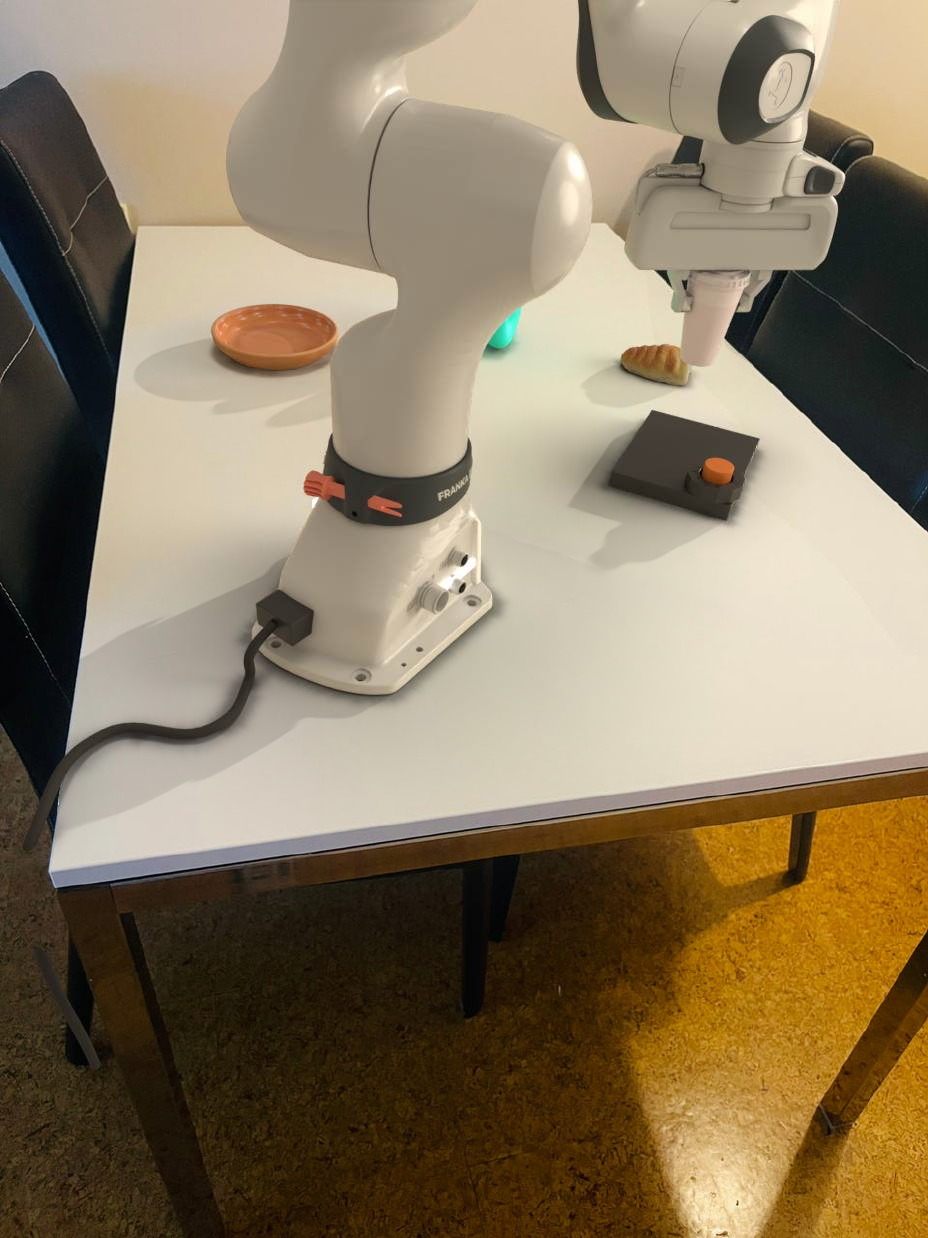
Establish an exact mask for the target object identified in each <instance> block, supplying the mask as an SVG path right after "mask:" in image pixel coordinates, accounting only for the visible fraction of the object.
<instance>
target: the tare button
mask: <svg viewBox="0 0 928 1238" xmlns="http://www.w3.org/2000/svg"><path fill="white" fill-rule="evenodd" d="M733 471H734V466H733V464H732V463H731V462H729V461H727V460H725V459H721V458H710V459H708V460H706V461H705V464H704V468H703V472H702V478H703V479H705V480H706V481H708V482H710V483H714V484H724V485H726V484H729V483H730V480H731V477H732V474H733Z"/></svg>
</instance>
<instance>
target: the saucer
mask: <svg viewBox="0 0 928 1238" xmlns="http://www.w3.org/2000/svg"><path fill="white" fill-rule="evenodd" d="M210 333H211V337H212V340H213V343H214V345H215V346H216V347H217V348H218V349H219V350H220V351H222V352H223V353H224V354H225V355H226V356H228V357H230V358H231V359H232V360H234V361H235V362H237V363H238V364H241V365H244V366H246V367H248V368H249V367H250V368H253V369H258V370H266V371H287V370H294V369H301V368H304V367H307V366H310V365H312V364H314V363H316V362H317V361H319V360H320V359H322V358H323V356H325V355H326V354H328V353H329V352H330V351H331V349H332V348H334V346H336V344H337V342H338V336H339V329H338V326H337V324H336V322H335V321H334V320H333V319H332V318H331V317H329V316H328V315H326V314H324V313H323V312H320V311H318V310H315V309H313V308H309V307H304V306H301V305H296V304H295V305H294V304H285V303H284V304H283V303H262V304H253V305H245V306H241V307H238V308H235V309H234V308H233V309H232V310H229V311H226V312H224V313H223V314H221V315H219V317H217V318H216V319H215V320H214V321H213V323H212V325H211V328H210Z"/></svg>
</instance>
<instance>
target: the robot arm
mask: <svg viewBox="0 0 928 1238" xmlns="http://www.w3.org/2000/svg"><path fill="white" fill-rule="evenodd" d="M478 1H479V0H289V6H288V18H287V23H286V30H285V34H284V39H283V43H282V45H281V50H280V53H279V56H278V58H277V61H276V62H275V65H274V67H273V69H272V71H271V73H270V74H269V76H268V77H267V79H266V80H265V81H264V82H263V84H262V85H260V87H259V88H257V89H256V91H254V92H253V93H252V94H251V95H250V96H249V97H248V98H247V99H246V101H245V102H244V103H243V105H242V106H241V108H240V109H239V111H238V113H237V114H236V117H235V119H234V121H233V122H232V125H231V128H230V131H229V135H228V139H227V146H226V153H225V168H226V178H227V184H228V188H229V191H230V194H231V198H232V200H233V203H234V205H235V208H236V210H237V211H238V213H239V215H240V217H241V219H242V220H243V222H244V223H245V224H246V226H248V227H249V228H250V229H251V230H252V231H254V232H255V233H257V234H259V235H261V236H263V237H265V238H268V239H269V240H271V241H273V242H275V243H278V245H281V246H283V247H285V248H288V249H290V250H292V251H294V252H297V253H299V254H301V255H303V256H305V257H307V258H311V259H316V260H320V261H325V262H329V263H333V264H337V265H342V266H347V267H352V268H355V269H360V270H365V271H369V272H374V273H377V274H382V275H386V276H388V277H390V278H394V279H395V282H396V285H397V302H396V308H392V309H389V310H385V311H382V312H379V313H377V314H374V315H371V316H369V317H366V318H364V319H362V320H360V321H359V322H356V323H355V324H353V325H352V326H351V327H350V328H348V329H347V330H346V331H345V332H344V334H342V336H341V337H340V339H339V340H337V342H336V344H335V347H334V349H333V352H332V355H331V358H330V362H329V375H330V376H329V377H330V400H331V401H330V402H331V403H330V405H331V429H332V432H331V434H330V435H329V438H328V442H327V448H326V451H325V454H324V457H323V461H322V464H323V470H322V473H321V472H320V471H317V470H310V471H309V472H308V473H307V474H306V475H305V478H304V481H303V492H304V493H303V494H305V495H307V496H308V497H309V496H310V497H313V499H312V500H311V502H312V503H311V504H312V509H311V511H310V513H309V514H308V517H307V518H306V521H305V522H304V524H303V527H302V529H301V531H300V533H299V534H298V537H297V539H296V541H295V543H294V545H293V547H292V549H291V551H290V554H289V555H288V558H287V559H286V561H285V563H284V566H283V568H282V570H281V573H280V577H279V582H278V583H279V584H278V586H277V589H276V590H275V591H273V592H271V593H270V594H268V595H267V596H264V598H262V599H260V600H258V601H257V602H256V603H255V610H256V618H257V620H256V621H255V623H254V625H253V626H252V629H251V641H250V642H249V644H248V646H247V648H246V650H245V652H244V655H243V660H242V661H243V663H242V664H243V669H244V676H243V679H242V681H241V685H240V688H239V691H238V694H237V696H236V698H235V700H234V702H233V704H232V705H231V707H230V708H229V709H228V710H227V712H225V713H224V714H223V715H221V716H220V717H218V718H217V719H216V720H214V721H212V722H210V723H207V724H204V725H202V726H198V727H193V728H179V727H178V728H177V727H170V726H164V725H158V724H153V723H148V722H147V723H146V722H121V723H116V724H111V725H109V726H107V727H105V728H102V729H100V730H98V731H97V732H94V733H92V734H90V735H89V736H88V737H86V738H85V739H83V740H81V741H80V742H79V743H77V744H76V745H74V747H72V748H71V749H70V750H69V751H68V752H67V753H66V754H65V755H64V756H63V757H62V759H61V760H60V761H59V763H58V764H57V765H56V767H55V768H54V769H53V772H52V774H51V775H50V777H49V779H48V782H47V784H46V786H45V789H44V790H43V793H42V795H41V798H40V801H39V803H38V805H37V808H36V810H35V813H34V814H33V818H32V819H31V822H30V826H29V827H28V830H27V833H26V835H25V837H24V841H23V844H22V850H23V851H25V852H28V851H29V852H30V851H32V850H33V849H34V848H35V847H37V845H38V843H39V840H40V837H41V835H42V832H43V830H44V827H45V824H46V822H47V819H48V818H49V817H48V816H49V814H50V812H51V809H52V806H53V805H54V801H55V799H56V797H57V794H58V792H59V789H60V788H61V785H62V783H63V781H64V779H65V778H66V776H67V774H68V772H69V771H70V769H71V768H72V767H73V765H74V764H75V763H76V762H77V761H78V760H79V759H80V758H81V757H82V756H83V755H84V754H85V753H87V752H88V751H89V750H91V749H93V748H94V747H96V746H97V745H99V744H101V743H102V742H105V741H107V740H108V739H111V738H113V737H116V736H120V735H126V734H128V735H129V734H138V735H145V736H152V737H159V738H165V739H169V740H170V739H171V740H180V741H184V740H185V741H188V740H198V739H203V738H206V737H208V736H211V735H213V734H216V733H218V732H219V731H221V730H223V729H225V728H226V727H228V726H229V725H231V724H232V723H233V722H234V721H235V720H236V719H237V718H238V717H239V715H240V714H241V712H242V710H243V709H244V707H245V705H246V703H247V700H248V698H249V696H250V693H251V689H252V686H253V684H254V679H255V677H256V666H255V665H256V664H255V658H256V655H257V653H258V651H259V652H260V653H261V654H262V655H263V656H264V657H265V658H267V659H268V660H269V661H271V662H272V663H274V664H275V665H277V666H278V667H280V668H282V669H284V670H286V671H288V672H289V673H291V674H293V675H296V676H299V677H301V678H303V679H305V680H308V681H310V682H313V683H316V684H318V685H321V686H323V687H327V688H331V689H335V690H337V691H341V692H342V691H343V692H347V693H352V694H358V695H359V694H360V695H373V696H374V695H375V696H376V695H390V694H394V693H396V692H397V691H399V690H400V689H401V688H402V687H404V686H405V685H406V684H407V683H408V682H409V681H411V680H412V679H413V678H414V677H415V676H416V675H417V674H418V673H419V672H421V671H422V670H423V669H424V668H426V667H427V666H428V665H429V664H430V663H431V662H433V660H434V659H435V658H436V657H438V656H439V655H440V654H441V653H442V652H443V651H445V649H447V648H448V647H449V646H451V644H452V643H453V642H454V641H456V640H457V639H458V638H460V636H461V635H462V634H464V633H465V632H466V631H467V630H468V629H470V628H471V627H472V626H473V625H474V624H475V623H476V622H477V621H478V620H480V619H481V618H482V617H483V616H484V615H485V614H487V612H488V611H490V610H491V609H492V608H493V593H492V591H491V590H490V589H489V587H488V586H487V585H486V584H485V583H484V582H483V581H482V579H481V577H482V575H481V571H482V570H481V568H482V566H481V565H482V523H481V521H480V518H479V515H478V514H477V513H476V510H475V509H474V506H473V504H472V501H471V500H470V496H469V493H468V491H469V489H470V485H471V477H472V472H473V462H474V461H473V459H474V458H473V446H472V441H471V439H470V437H469V428H470V427H469V426H470V419H471V411H472V402H473V395H474V390H475V383H476V378H477V372H478V368H479V365H480V361H481V359H482V357H483V355H484V351H485V350H486V347H487V346H488V345H489V343H488V342H489V340H490V339H491V337H492V336H493V334H494V333H495V331H496V330H497V329H498V328H499V327H500V326H501V324H502V323H503V322H504V321H505V320H506V319H507V318H508V317H509V316H510V315H512V314H513V313H514V312H515V311H516V310H518V309H519V308H520V307H524V306H525V305H527V304H528V303H530V302H532V301H534V300H536V299H538V298H540V297H542V296H545V295H546V294H547V293H548V292H550V291H551V290H553V289H554V288H556V286H557V285H559V284H560V283H561V282H562V281H563V280H565V278H566V277H567V276H568V275H569V274H570V272H571V271H572V269H573V268H574V267H575V265H576V264H577V262H578V261H579V258H580V257H581V255H582V253H583V251H584V248H585V246H586V245H587V244H586V242H587V240H588V239H589V235H590V231H591V227H592V220H593V207H594V204H593V203H594V201H593V189H592V183H591V179H590V175H589V171H588V168H587V166H586V163H585V161H584V159H583V157H582V154H581V153H580V151H579V150H578V148H577V146H576V145H575V143H574V142H573V141H571V140H569V139H567V138H565V137H562V136H560V135H558V134H556V133H554V132H552V131H549V130H548V129H545V128H543V127H540V126H539V125H536V124H534V123H531V122H528V121H526V120H523V119H521V118H518V117H516V116H513V115H510V114H506V113H500V112H494V111H488V110H482V109H476V108H472V107H471V108H470V107H464V106H459V105H453V104H447V103H442V102H436V101H429V100H425V99H420V98H418V97H416V96H412V95H411V94H410V91H409V88H408V85H407V78H406V77H407V73H406V72H407V59H408V55H409V54H410V53H412V52H414V51H417V50H419V49H422V48H423V47H425V46H428V45H430V44H431V43H433V42H435V41H437V40H438V39H440V38H442V37H443V36H446V35H447V34H448V33H450V32H451V31H452V30H454V29H456V27H458V26H459V25H460V24H461V23H462V22H464V20H466V18H467V17H468V16H469V15H470V13H471V12H472V11H473V10H474V8H475V6H476V5H477V2H478ZM840 5H841V0H577V9H578V29H577V39H576V41H577V42H576V52H575V53H576V54H575V55H576V56H575V62H576V63H575V65H576V66H575V68H576V75H577V81H578V85H579V89H580V90H581V93H582V95H583V98H584V100H585V103H586V104H587V106H588V108H589V109H590V111H591V112H592V113H593V114H594V115H595V116H597V117H598V118H599V119H603V120H606V121H612V122H620V123H627V124H631V125H633V124H634V125H643V126H647V127H651V128H654V129H658V130H661V131H665V132H669V133H673V134H677V135H680V136H682V137H683V136H684V137H691V138H696V139H699V140H703V141H702V146H701V150H700V156H699V159H698V160H699V161H698V163H697V162H696V163H678V164H672V163H670V162H661V163H660V162H659V163H656V164H655V165H654V167H653V168H650V169H648V170H646V171H645V172H644V173H642V175H641V176H640V177H639V178H638V180H637V184H636V188H635V193H634V199H633V203H634V205H633V206H634V209H633V212H632V214H631V219H630V222H629V225H628V228H627V233H626V237H625V240H624V246H623V251H624V254H625V256H626V258H627V259H628V261H629V262H630V263H631V265H633V267H635V269H637V270H639V271H666V275H667V277H668V280H669V284H670V286H671V289H672V291H673V293H672V298H671V302H670V308H671V310H672V311H673V313H676V314H680V313H684V312H690V309H691V307H690V305H691V304H692V301H693V296H692V295H691V294H689V293H688V291H687V289H685V288H684V284H683V281H688V275H689V271H690V270H750V272H751V277H750V280H749V281H750V282H749V285H748V286H746V287H745V288H744V289H743V292H742V295H741V297H740V300H739V302H738V304H737V307H736V309H735V312H734V313H749V312H751V310H752V307H753V303H754V300H755V297H757V295H758V294H759V293H760V292H761V291H762V290H763V289H764V288H765V286H766V285H767V284H769V282H770V281H771V278H772V275H773V272H774V271H813V270H815V269H817V268H818V266H820V264H822V263H823V262H824V260H825V259H826V257H827V255H828V252H829V249H830V246H831V243H832V239H833V235H834V232H835V229H836V228H835V227H836V223H837V218H838V213H839V205H838V202H837V200H836V198H835V196H837V195H839V193H840V192H841V191H842V190H843V187H844V184H845V181H846V174H845V173H844V172H843V171H842V170H841V169H840V168H838V167H837V166H836V165H834V164H832V163H831V162H829V161H828V160H826V159H824V158H823V157H820V156H818V155H817V154H815V153H814V152H812V151H811V150H809V149H807V148H805V147H804V144H805V141H806V137H807V134H808V121H809V120H808V118H809V111H810V107H811V104H812V102H813V100H814V97H815V95H816V93H817V91H818V90H819V88H820V86H821V84H822V82H823V79H824V75H825V72H826V68H827V65H828V61H829V57H830V54H831V49H832V46H833V42H834V36H835V32H836V28H837V24H838V17H839V12H840V7H841V6H840ZM652 174H654V175H652ZM31 947H32V950H33V954H34V957H35V960H36V962H37V966H38V968H39V970H40V973H41V975H42V977H43V980H44V982H45V984H46V986H47V989H48V991H49V992H50V994H51V996H52V998H53V1000H54V1001H55V1003H56V1005H57V1007H58V1008H59V1010H60V1012H61V1014H62V1015H63V1017H64V1019H65V1021H66V1022H67V1024H68V1026H69V1027H70V1029H71V1031H72V1032H73V1034H74V1036H75V1038H76V1040H77V1043H79V1046H80V1047H81V1049H82V1051H83V1054H84V1056H85V1057H86V1059H87V1061H88V1064H89V1066H90V1069H91V1071H98V1070H99V1068H101V1065H102V1063H101V1061H100V1059H99V1057H98V1054H97V1051H96V1049H95V1047H94V1045H93V1043H92V1041H91V1039H90V1037H89V1034H88V1033H87V1031H86V1029H85V1028H84V1025H83V1024H82V1022H81V1020H80V1018H79V1017H78V1015H77V1013H76V1011H75V1009H74V1008H73V1006H72V1005H71V1002H70V1001H69V999H68V997H67V996H66V993H65V992H64V989H63V987H62V986H61V983H60V982H59V979H58V978H57V974H56V973H55V970H54V969H53V965H52V963H51V959H50V956H49V954H48V951H47V950H44V949H43V948H41V947H39V946H37V945H35V944H34V943H31Z"/></svg>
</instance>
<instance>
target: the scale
mask: <svg viewBox="0 0 928 1238" xmlns="http://www.w3.org/2000/svg"><path fill="white" fill-rule="evenodd" d="M760 440H761V438H760V437H756V436H752V435H748V434H744V433H741V432H738V431H734V430H730V429H726V428H722V427H720V426H714V425H712V424H707V423H704V422H699V421H696V420H693V419H688V418H685V417H680V416H678V415H674V414H670V413H666V412H662V411H659V410H655V409H651V411H649V413H648V415H647V417H646V418H645V420H643V422H642V424H641V426H640V427H639V429H638V430H637V432H636V433H635V435H634V436H633V438H632V439H631V441H630V442H629V444H628V446H627V447H626V449H625V450H624V452H623V453H622V455H621V456H620V457H619V459H618V461H617V462H616V464H615V465H614V466H613V468H612V470H611V471H610V477H609V482H608V487H611V488H614V489H618V490H621V491H625V492H627V493H631V494H635V495H638V496H642V497H645V498H647V499H648V498H649V499H651V500H655V501H658V502H662V503H664V504H665V503H666V504H668V505H672V506H675V507H679V508H683V509H685V510H688V511H692V512H696V513H699V514H702V515H705V516H709V517H713V518H715V519H719V520H722V521H728V519H729V517H730V515H731V512H732V510H733V507H734V505H735V503H736V501H739V499H740V498H741V495H742V493H743V491H744V487H745V485H746V484H745V483H746V482H747V479H746V477H747V474H748V471H749V469H750V466H751V465H752V462H753V460H754V457H755V455H756V452H757V450H758V446H759V444H760ZM710 458H721V459H725V460H727V461H729V462H731V463H732V464H733V466H734V471H733V474H732V477H731V480H730V483H729V484H726V485H724V484H714V483H710V482H708V481H706V480H705V479H703V478H702V472H703V468H704V464H705V461H706V460H708V459H710Z"/></svg>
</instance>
